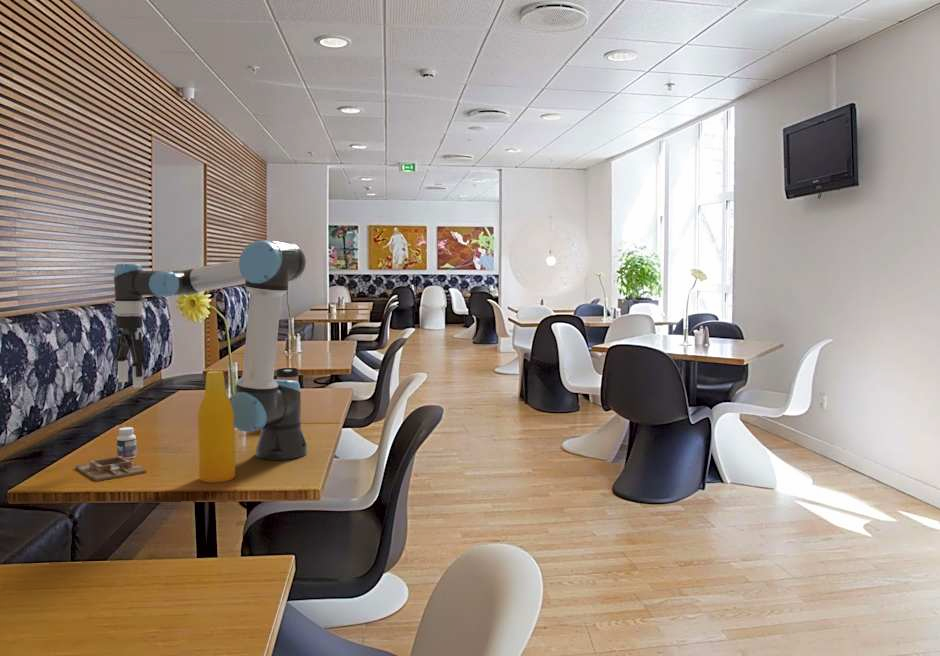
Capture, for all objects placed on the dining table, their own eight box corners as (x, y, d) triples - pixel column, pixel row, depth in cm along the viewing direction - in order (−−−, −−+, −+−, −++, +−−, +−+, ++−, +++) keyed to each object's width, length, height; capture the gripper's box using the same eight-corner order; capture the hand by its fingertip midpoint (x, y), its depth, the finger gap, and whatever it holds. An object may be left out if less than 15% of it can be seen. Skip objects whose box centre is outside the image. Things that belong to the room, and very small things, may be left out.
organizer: (146, 472, 211) (145, 463, 210) (96, 481, 202) (96, 471, 202) (123, 460, 224) (123, 451, 224) (75, 468, 215) (75, 459, 215)
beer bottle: (195, 483, 200) (192, 374, 198) (204, 474, 209) (201, 369, 207) (231, 482, 201) (228, 374, 198) (238, 473, 210) (236, 369, 208)
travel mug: (288, 420, 283) (287, 367, 281) (303, 422, 279) (302, 368, 277) (273, 424, 276) (272, 369, 275) (288, 426, 272) (287, 371, 271)
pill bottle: (114, 457, 227) (113, 428, 227) (132, 454, 231) (131, 425, 230) (121, 460, 224) (120, 431, 223) (139, 457, 227) (138, 428, 227)
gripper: (156, 317, 221) (158, 388, 223) (128, 312, 240) (129, 378, 242) (129, 317, 216) (131, 391, 218) (102, 313, 235) (104, 380, 237)
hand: (130, 384), depth 230 cm, fingers open, 13 cm apart
